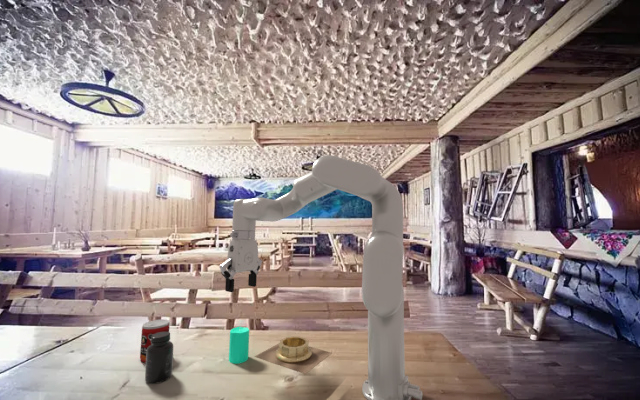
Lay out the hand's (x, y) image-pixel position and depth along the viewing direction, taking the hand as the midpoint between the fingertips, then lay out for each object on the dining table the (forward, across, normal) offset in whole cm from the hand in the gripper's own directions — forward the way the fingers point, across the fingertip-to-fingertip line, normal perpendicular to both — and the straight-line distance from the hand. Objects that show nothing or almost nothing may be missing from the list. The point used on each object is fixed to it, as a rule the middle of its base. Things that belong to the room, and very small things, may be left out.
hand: (241, 288), depth 90 cm
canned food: (+24, -12, +27) cm, 38 cm away
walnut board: (+23, +12, -13) cm, 29 cm away
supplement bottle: (+24, -18, +13) cm, 32 cm away
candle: (+24, 0, 0) cm, 24 cm away
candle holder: (+22, +12, -13) cm, 28 cm away
